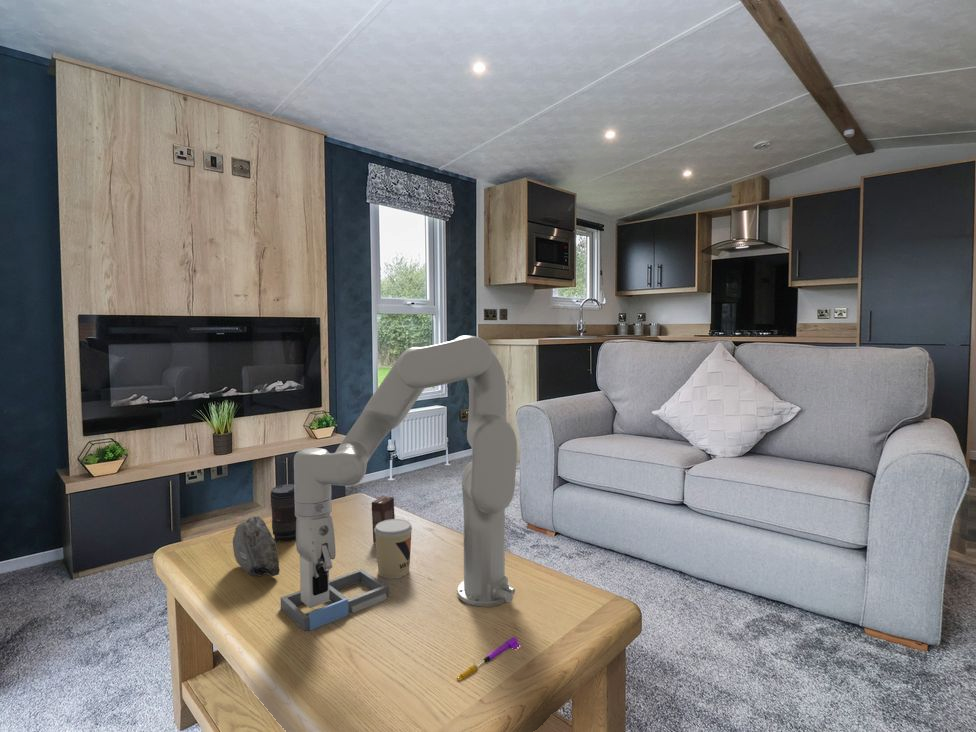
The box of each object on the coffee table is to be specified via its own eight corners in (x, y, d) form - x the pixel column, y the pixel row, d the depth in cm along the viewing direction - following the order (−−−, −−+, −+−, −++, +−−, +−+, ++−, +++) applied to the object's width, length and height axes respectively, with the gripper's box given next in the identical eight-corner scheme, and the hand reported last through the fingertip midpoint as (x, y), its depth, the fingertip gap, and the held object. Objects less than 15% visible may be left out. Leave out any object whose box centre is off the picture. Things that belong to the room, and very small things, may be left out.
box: (382, 535, 156) (381, 495, 155) (395, 537, 155) (395, 497, 154) (371, 542, 151) (370, 501, 150) (385, 544, 149) (384, 503, 148)
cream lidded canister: (404, 581, 127) (404, 533, 126) (369, 578, 129) (368, 530, 128) (417, 564, 136) (417, 519, 136) (383, 561, 138) (383, 517, 137)
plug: (329, 600, 114) (328, 550, 113) (309, 608, 111) (308, 557, 110) (320, 593, 117) (319, 544, 117) (300, 600, 114) (299, 550, 113)
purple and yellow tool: (513, 639, 104) (454, 680, 92) (514, 634, 103) (455, 674, 92) (523, 648, 102) (465, 690, 90) (524, 643, 102) (466, 685, 90)
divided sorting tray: (390, 597, 120) (389, 582, 119) (305, 632, 106) (305, 615, 106) (361, 578, 129) (361, 564, 129) (280, 608, 115) (280, 593, 115)
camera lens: (265, 541, 152) (264, 490, 151) (284, 531, 159) (282, 483, 158) (289, 544, 149) (287, 493, 148) (307, 534, 157) (305, 485, 156)
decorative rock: (281, 580, 128) (280, 520, 127) (254, 589, 123) (251, 527, 122) (256, 559, 140) (254, 504, 139) (230, 567, 135) (228, 510, 134)
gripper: (348, 512, 109) (349, 597, 110) (312, 494, 121) (314, 570, 123) (314, 521, 104) (315, 610, 105) (280, 501, 116) (282, 580, 118)
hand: (314, 587), depth 114 cm, fingers closed on plug, 4 cm apart
